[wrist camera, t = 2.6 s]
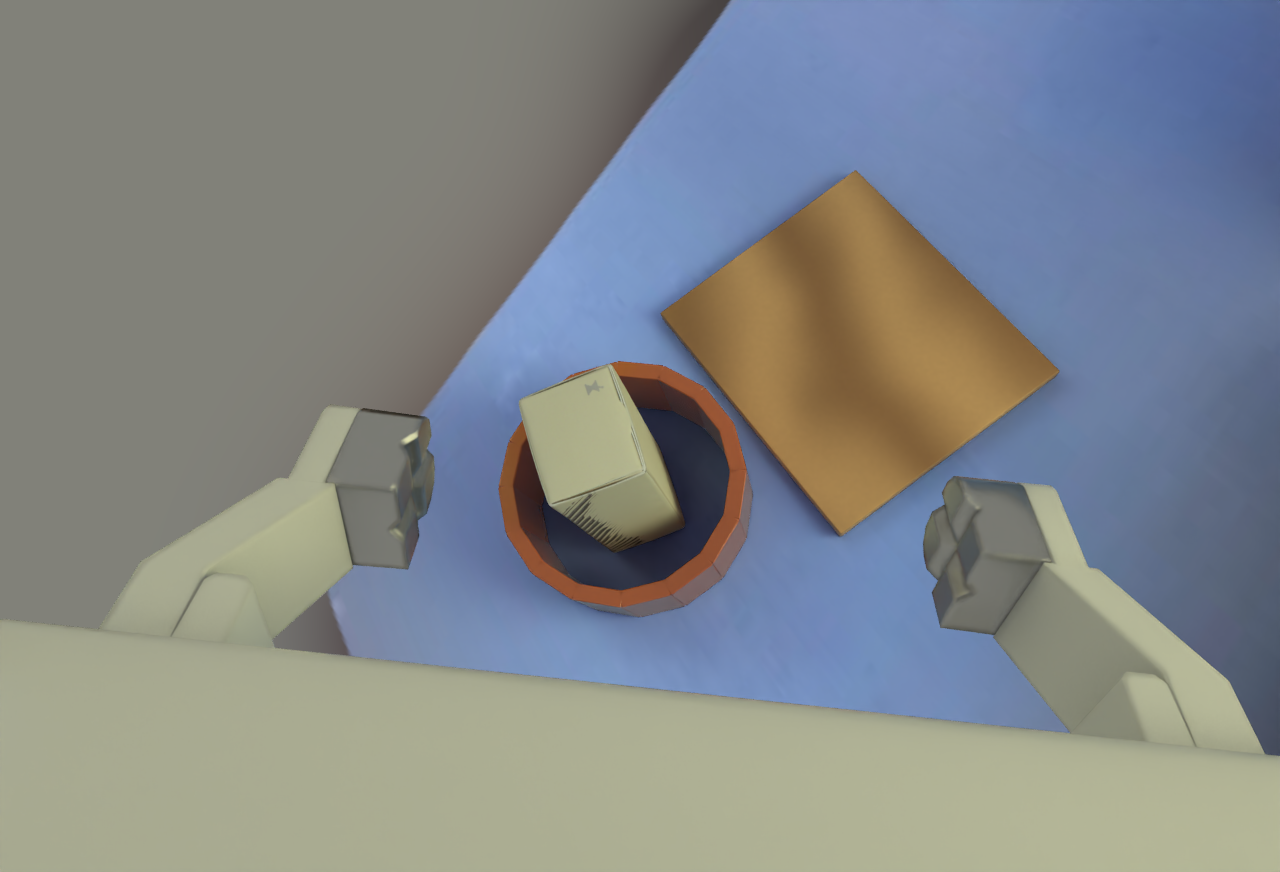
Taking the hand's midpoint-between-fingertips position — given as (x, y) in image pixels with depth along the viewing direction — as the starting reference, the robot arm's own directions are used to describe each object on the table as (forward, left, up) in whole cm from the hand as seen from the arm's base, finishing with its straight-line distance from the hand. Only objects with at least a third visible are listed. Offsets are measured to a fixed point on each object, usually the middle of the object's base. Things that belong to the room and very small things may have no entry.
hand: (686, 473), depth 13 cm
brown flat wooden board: (-13, -10, -31) cm, 35 cm away
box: (+2, -10, -32) cm, 33 cm away
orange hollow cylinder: (+2, -10, -31) cm, 33 cm away
